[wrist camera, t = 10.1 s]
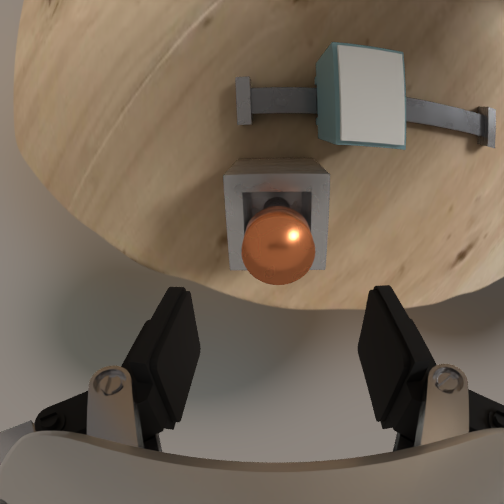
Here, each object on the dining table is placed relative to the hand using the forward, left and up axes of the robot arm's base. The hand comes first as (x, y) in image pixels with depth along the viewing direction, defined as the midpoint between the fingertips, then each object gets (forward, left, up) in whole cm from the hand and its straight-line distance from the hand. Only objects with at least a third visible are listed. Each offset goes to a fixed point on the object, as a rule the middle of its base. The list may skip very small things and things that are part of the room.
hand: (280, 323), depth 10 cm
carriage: (-6, -9, -20) cm, 22 cm away
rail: (-11, -9, -20) cm, 24 cm away
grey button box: (0, 0, -20) cm, 20 cm away
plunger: (0, 0, -14) cm, 14 cm away
